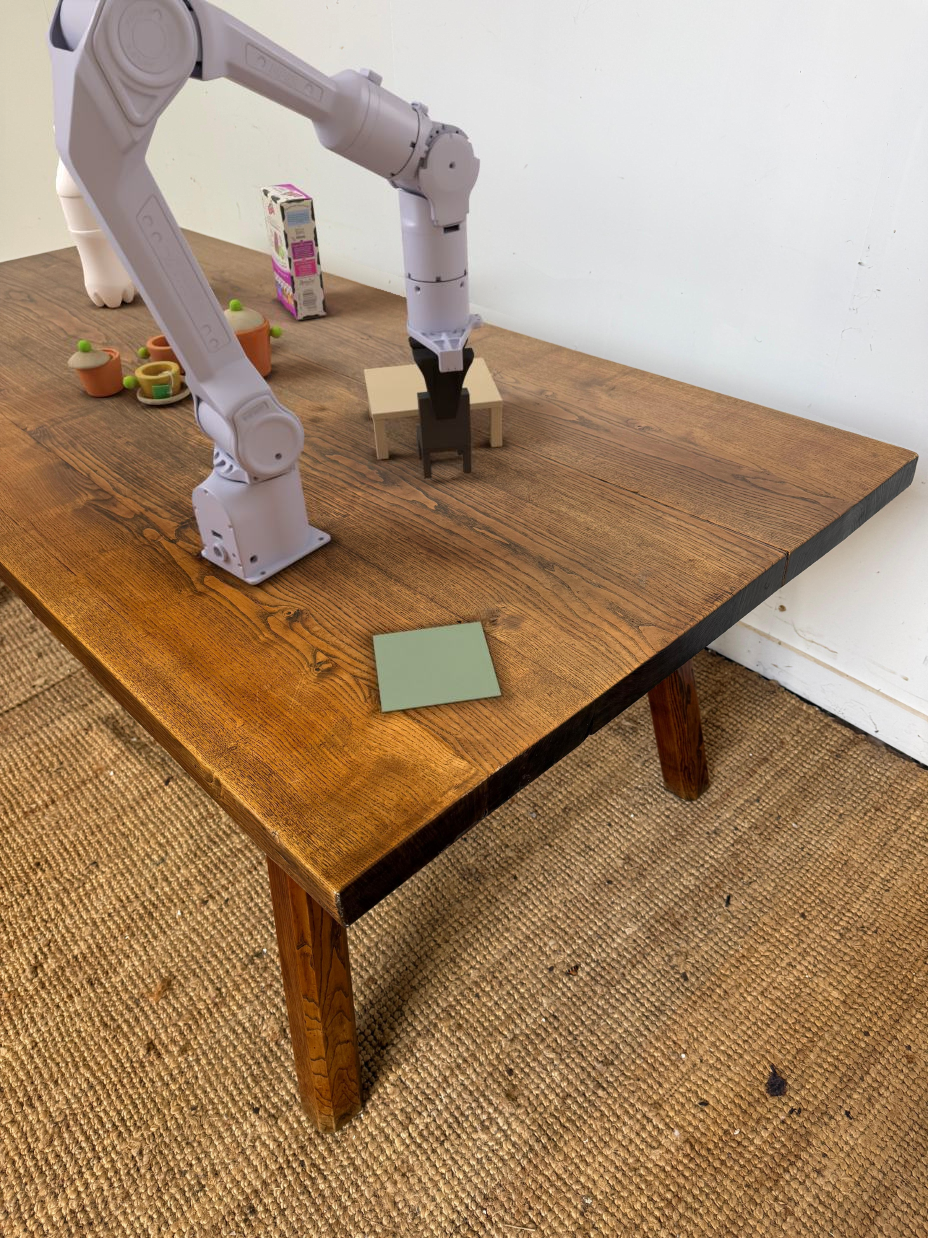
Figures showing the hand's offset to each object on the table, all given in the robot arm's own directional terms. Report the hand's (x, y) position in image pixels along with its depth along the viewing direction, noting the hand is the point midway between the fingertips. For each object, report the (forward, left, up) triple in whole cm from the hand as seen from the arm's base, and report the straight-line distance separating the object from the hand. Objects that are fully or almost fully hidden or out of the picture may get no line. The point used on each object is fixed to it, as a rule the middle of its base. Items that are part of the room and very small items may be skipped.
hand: (444, 412), depth 87 cm
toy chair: (+1, +2, -7) cm, 7 cm away
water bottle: (+10, +80, -8) cm, 81 cm away
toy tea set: (-1, +45, -8) cm, 46 cm away
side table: (+8, +9, -8) cm, 14 cm away
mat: (-22, -19, -8) cm, 30 cm away
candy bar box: (+26, +53, -8) cm, 59 cm away
